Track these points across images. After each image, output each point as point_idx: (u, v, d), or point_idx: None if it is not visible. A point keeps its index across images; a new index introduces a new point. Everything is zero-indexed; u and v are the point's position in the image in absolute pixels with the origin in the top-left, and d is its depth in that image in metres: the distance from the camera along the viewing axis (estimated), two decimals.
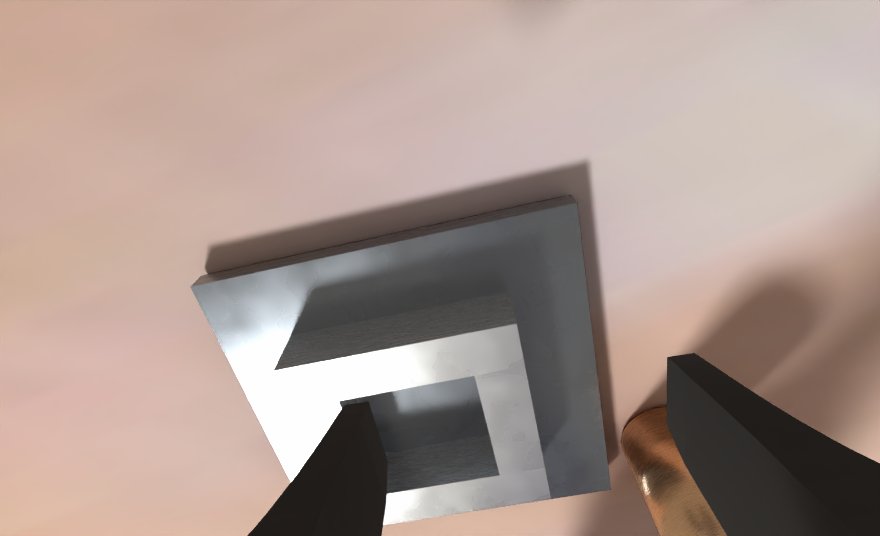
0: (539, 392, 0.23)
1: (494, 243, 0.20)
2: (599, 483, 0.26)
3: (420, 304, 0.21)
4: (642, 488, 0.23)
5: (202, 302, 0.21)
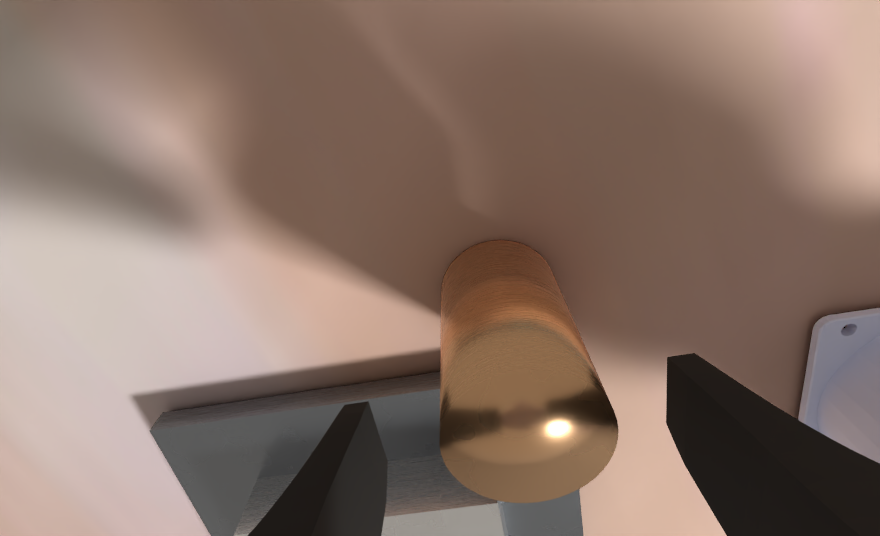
0: (389, 452, 0.19)
1: (206, 488, 0.20)
2: None
3: None
4: None
5: None
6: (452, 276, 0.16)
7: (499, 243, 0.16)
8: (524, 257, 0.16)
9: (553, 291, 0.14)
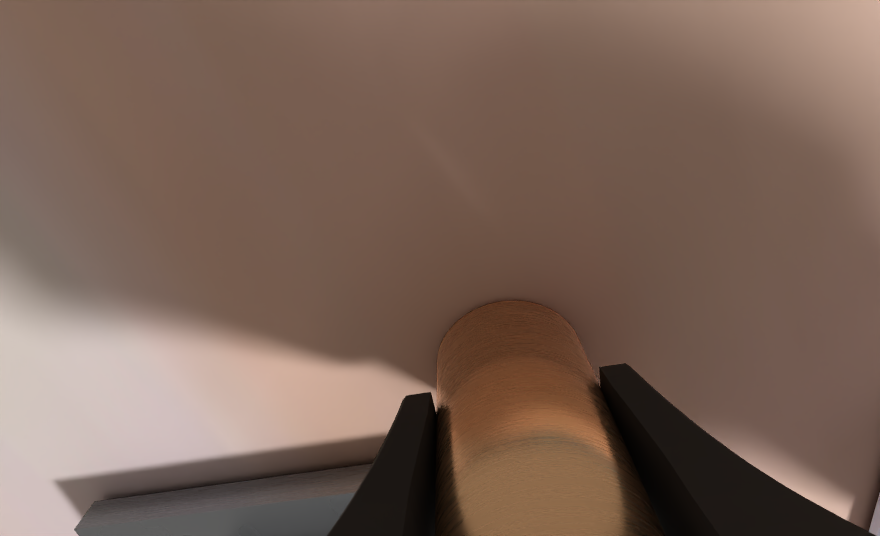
0: None
1: None
2: None
3: None
4: None
5: None
6: (451, 350, 0.12)
7: (513, 306, 0.13)
8: (546, 328, 0.12)
9: (588, 383, 0.11)
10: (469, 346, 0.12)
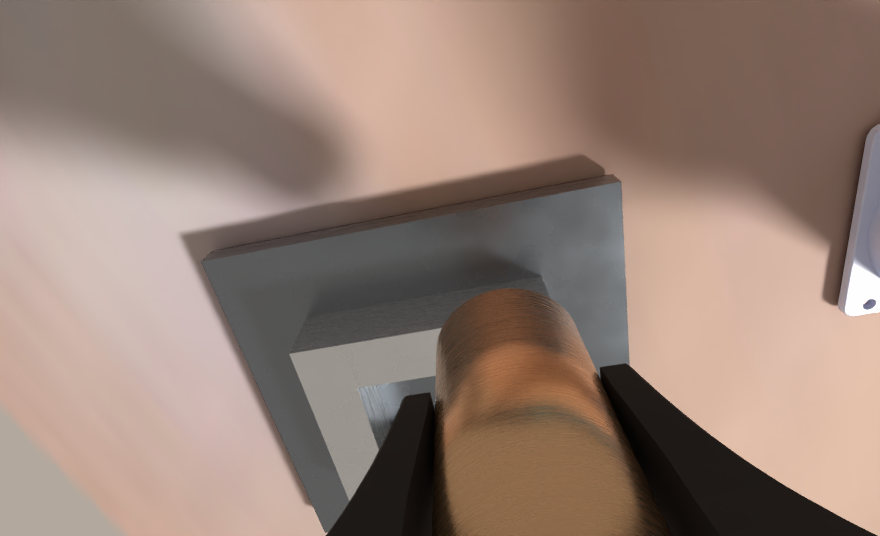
0: (438, 283, 0.19)
1: (254, 330, 0.20)
2: (605, 198, 0.18)
3: None
4: None
5: None
6: (452, 334, 0.12)
7: (515, 293, 0.13)
8: (547, 315, 0.12)
9: (588, 368, 0.11)
10: (471, 329, 0.12)
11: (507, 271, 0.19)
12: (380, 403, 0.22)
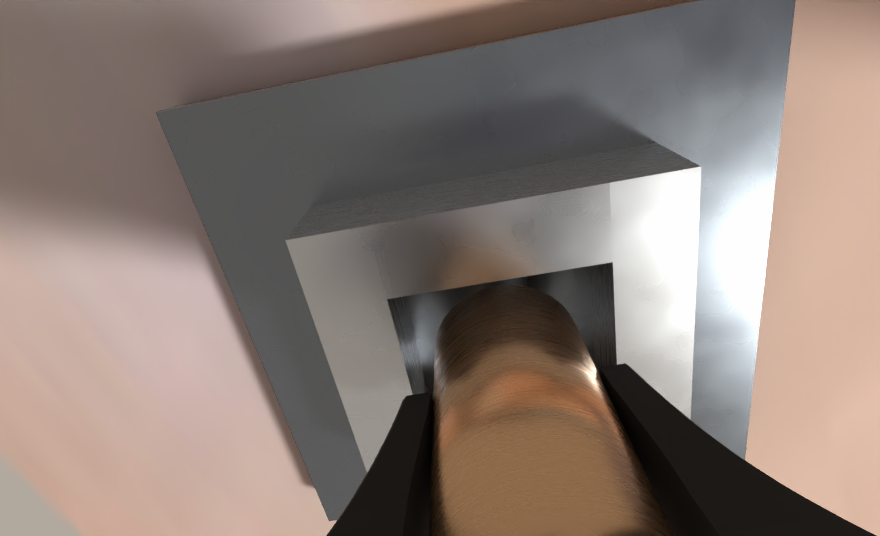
0: (505, 153, 0.13)
1: (236, 225, 0.14)
2: (769, 11, 0.12)
3: None
4: None
5: None
6: (453, 328, 0.12)
7: (516, 289, 0.13)
8: (548, 312, 0.12)
9: (589, 365, 0.11)
10: (472, 323, 0.12)
11: (608, 134, 0.13)
12: (412, 337, 0.15)
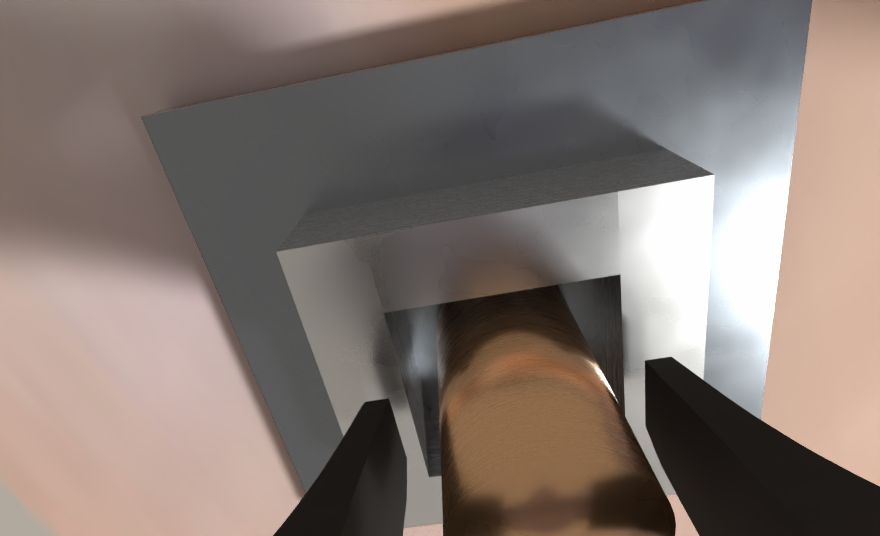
0: (507, 159, 0.13)
1: (226, 234, 0.14)
2: (785, 10, 0.11)
3: None
4: None
5: None
6: (454, 307, 0.13)
7: None
8: (542, 290, 0.13)
9: (580, 337, 0.12)
10: (472, 302, 0.13)
11: (614, 139, 0.12)
12: (410, 349, 0.15)
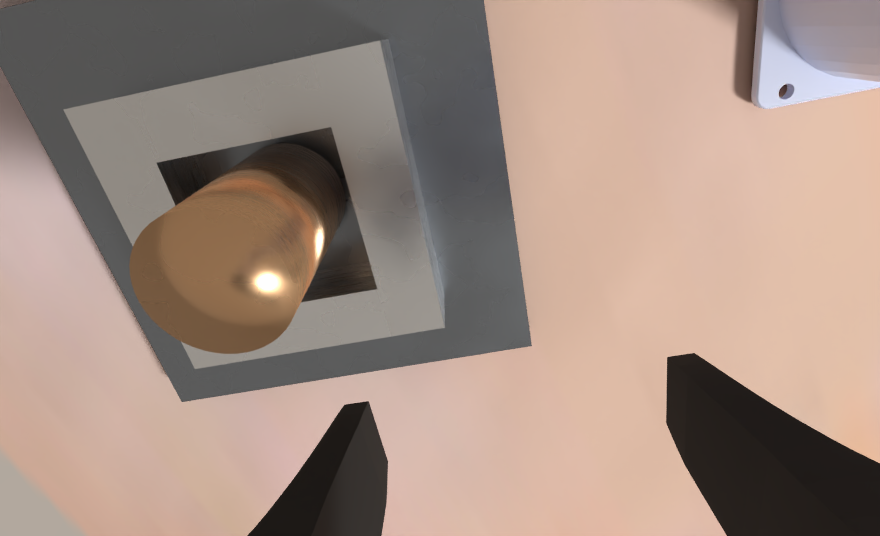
0: (265, 49, 0.16)
1: (54, 117, 0.17)
2: None
3: None
4: None
5: (196, 396, 0.22)
6: None
7: (285, 145, 0.17)
8: (298, 155, 0.16)
9: (306, 180, 0.15)
10: None
11: (346, 31, 0.16)
12: None
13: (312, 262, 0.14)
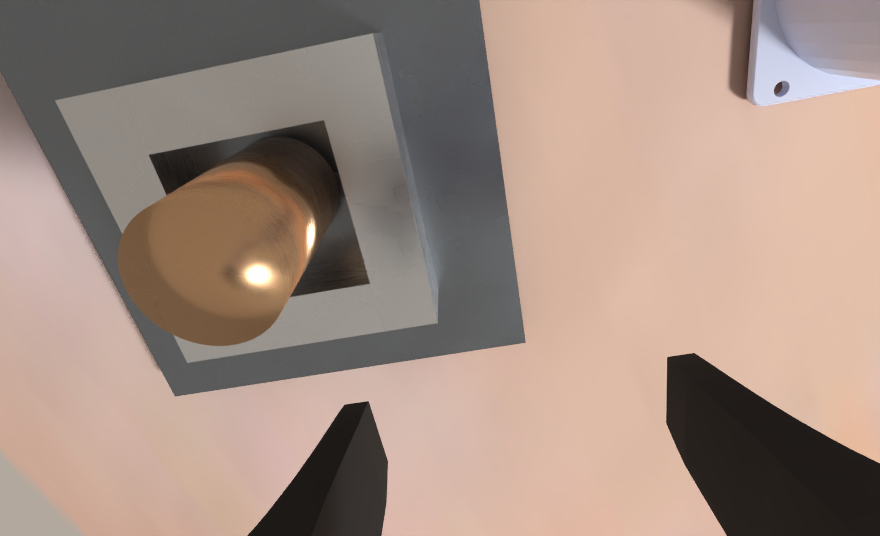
0: (259, 42, 0.16)
1: (47, 108, 0.17)
2: None
3: None
4: None
5: (190, 391, 0.22)
6: None
7: (279, 138, 0.17)
8: (292, 149, 0.16)
9: (298, 173, 0.15)
10: None
11: (340, 24, 0.16)
12: None
13: (302, 255, 0.13)
